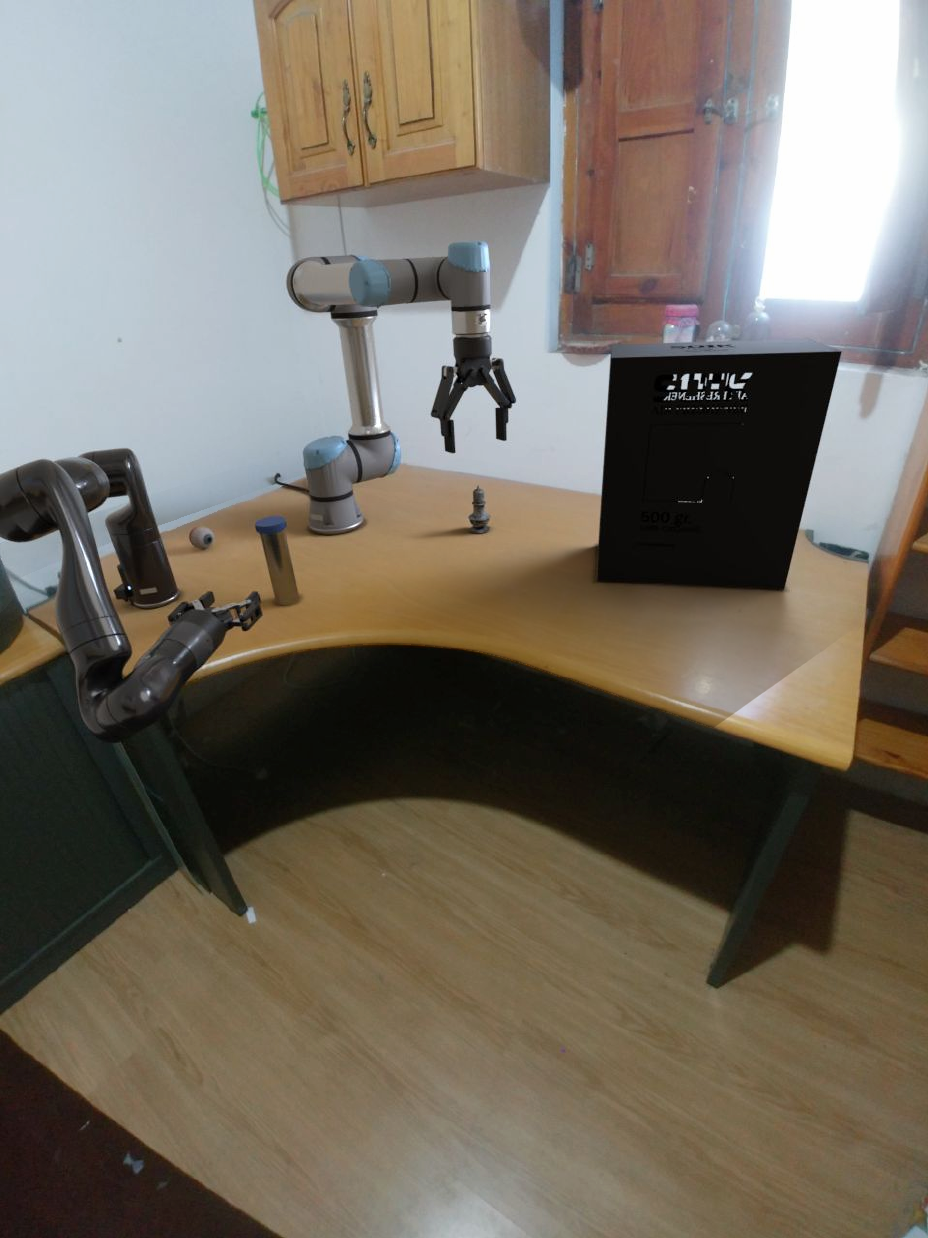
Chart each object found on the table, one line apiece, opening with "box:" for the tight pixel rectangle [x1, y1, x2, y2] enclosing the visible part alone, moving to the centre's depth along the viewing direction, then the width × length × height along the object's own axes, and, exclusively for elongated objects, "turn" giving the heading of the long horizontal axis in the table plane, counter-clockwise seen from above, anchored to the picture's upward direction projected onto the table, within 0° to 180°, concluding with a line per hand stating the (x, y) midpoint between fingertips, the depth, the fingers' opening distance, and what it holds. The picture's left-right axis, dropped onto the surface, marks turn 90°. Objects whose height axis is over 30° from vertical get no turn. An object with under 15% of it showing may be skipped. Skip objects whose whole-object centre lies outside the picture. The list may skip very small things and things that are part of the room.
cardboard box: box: [596, 337, 842, 591], centre depth 125 cm, size 38×20×45 cm, turn 78°
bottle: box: [259, 528, 300, 606], centre depth 127 cm, size 5×5×18 cm
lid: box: [254, 515, 288, 534], centre depth 123 cm, size 6×6×2 cm
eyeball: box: [188, 525, 215, 550], centre depth 158 cm, size 6×6×6 cm
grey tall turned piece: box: [467, 485, 491, 534], centre depth 158 cm, size 6×6×12 cm
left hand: (234, 595), depth 108 cm, fingers open, 8 cm apart
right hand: (476, 445), depth 127 cm, fingers open, 13 cm apart
